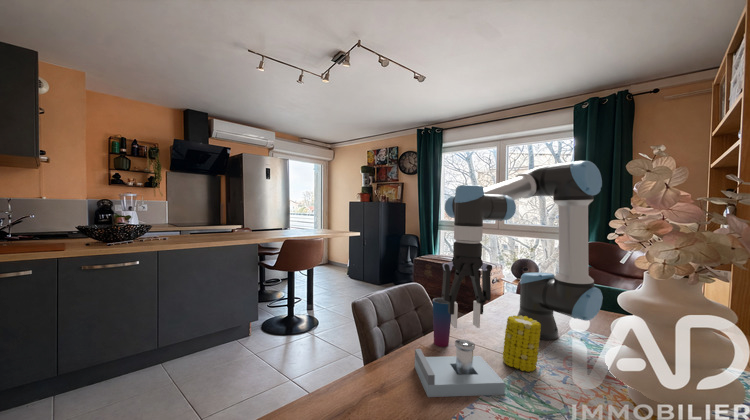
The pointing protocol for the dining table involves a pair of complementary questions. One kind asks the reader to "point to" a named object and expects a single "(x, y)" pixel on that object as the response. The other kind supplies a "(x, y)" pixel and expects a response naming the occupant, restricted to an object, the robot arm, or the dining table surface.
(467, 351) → the silver metal cylinder
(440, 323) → the cup
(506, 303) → the dining table surface
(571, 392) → the dining table surface
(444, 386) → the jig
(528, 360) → the food
